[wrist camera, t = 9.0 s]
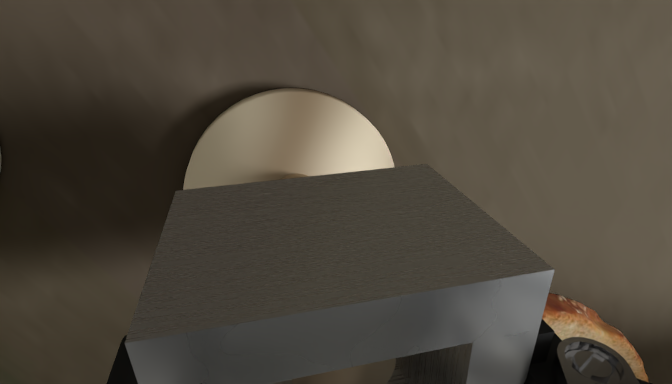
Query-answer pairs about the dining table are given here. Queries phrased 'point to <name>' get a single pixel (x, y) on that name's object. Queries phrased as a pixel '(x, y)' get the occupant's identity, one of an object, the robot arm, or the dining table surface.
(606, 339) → the bread slice
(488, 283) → the collar
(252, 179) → the peg on disc base
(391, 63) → the dining table surface
